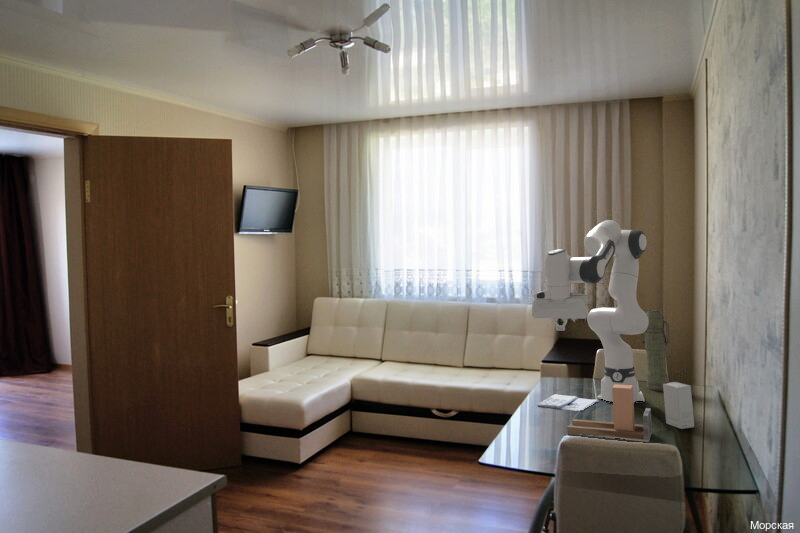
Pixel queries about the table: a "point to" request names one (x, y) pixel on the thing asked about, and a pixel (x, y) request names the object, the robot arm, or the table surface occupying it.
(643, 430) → the chute
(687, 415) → the skincare box
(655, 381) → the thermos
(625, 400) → the post
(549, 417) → the table surface
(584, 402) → the folded bicycle print cloth
